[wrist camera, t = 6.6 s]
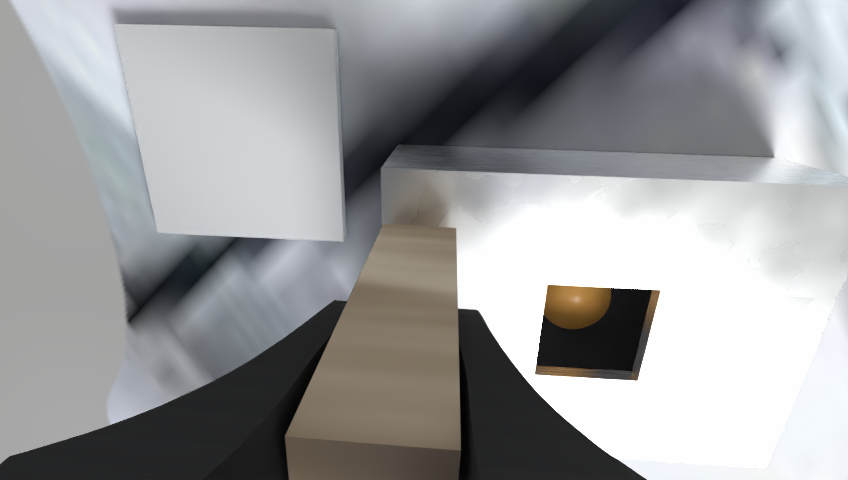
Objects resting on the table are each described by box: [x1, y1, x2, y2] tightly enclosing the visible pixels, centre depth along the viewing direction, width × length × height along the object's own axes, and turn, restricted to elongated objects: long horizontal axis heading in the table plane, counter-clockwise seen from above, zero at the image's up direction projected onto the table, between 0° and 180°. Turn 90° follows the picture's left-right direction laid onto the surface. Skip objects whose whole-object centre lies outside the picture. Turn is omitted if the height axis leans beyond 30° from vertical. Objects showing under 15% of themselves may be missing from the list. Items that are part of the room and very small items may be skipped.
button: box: [543, 284, 611, 329], centre depth 20 cm, size 3×3×2 cm
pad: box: [113, 24, 346, 242], centre depth 19 cm, size 9×9×1 cm
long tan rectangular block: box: [285, 224, 461, 480], centre depth 10 cm, size 2×2×9 cm
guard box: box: [381, 144, 848, 468], centre depth 19 cm, size 12×16×5 cm
